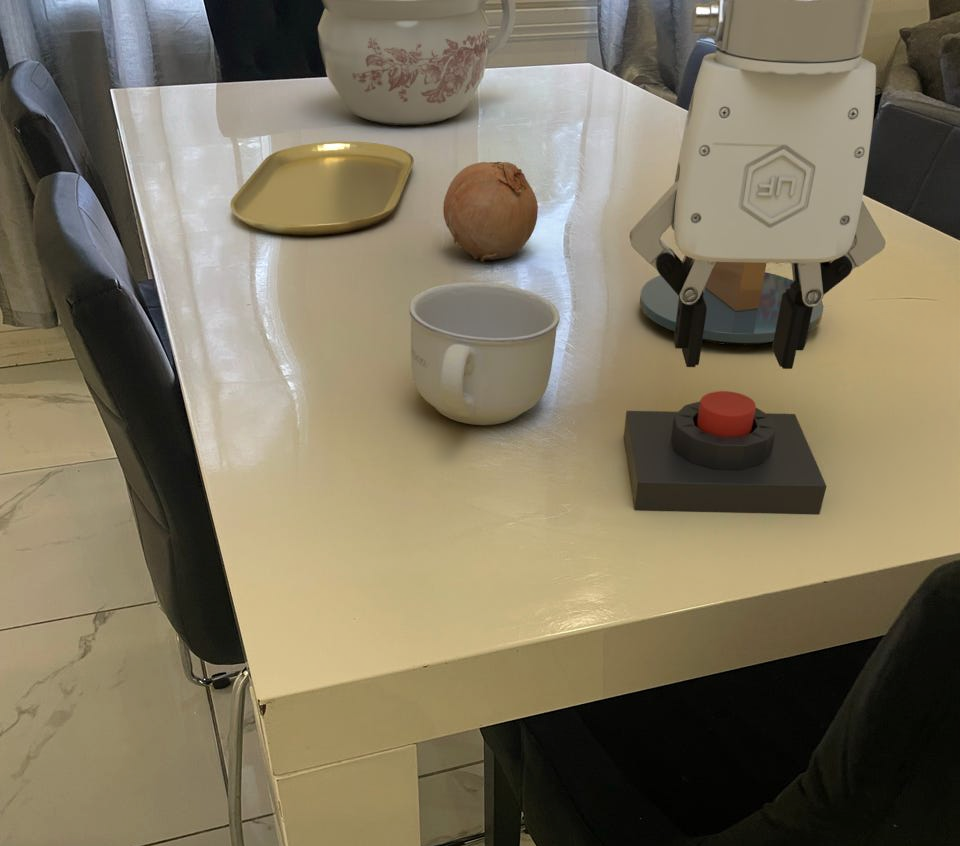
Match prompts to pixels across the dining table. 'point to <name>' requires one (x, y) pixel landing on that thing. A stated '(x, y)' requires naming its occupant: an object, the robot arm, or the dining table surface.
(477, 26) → the chamber pot
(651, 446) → the button box
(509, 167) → the onion
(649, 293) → the plate
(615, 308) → the dining table surface
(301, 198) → the serving platter
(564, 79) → the dining table surface
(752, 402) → the button
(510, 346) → the teacup
